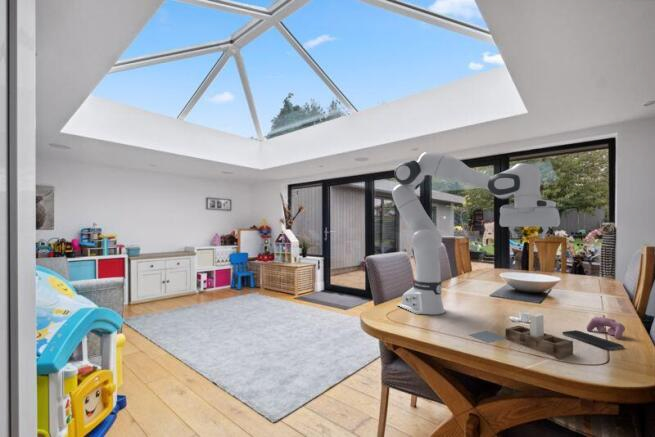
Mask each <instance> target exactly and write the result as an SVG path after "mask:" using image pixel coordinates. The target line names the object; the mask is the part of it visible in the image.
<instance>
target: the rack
mask: <svg viewBox="0 0 655 437" xmlns="http://www.w3.org/2000/svg"><path fill="white" fill-rule="evenodd" d="M505 337H506V338H505V340H508V341H510V342H513V343H515V344H519V345H521V346H524V347H527V348H529V349H533V350H535V351H538V352H541V353H543V354H547V355H549V356H552V357H553V358H554V359H557V360H561V359H564V358H567V357H570V356H573V355H574V342H573V340H569V339H565V338H563V337H559V336H556V335H552V334H549V333H545V332H544V336H543V337H539V338H536V337H533V336H530V327H525V326H522V325H515V326H511V327H507V328H505Z"/></svg>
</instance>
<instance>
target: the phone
mask: <svg viewBox="0 0 655 437" xmlns="http://www.w3.org/2000/svg"><path fill="white" fill-rule="evenodd" d="M561 334H562V335H563V336H565V337H567V338H571V339H574V340H576V341H579V342H582V343H584V344H588V345H589V346H593V347H595V348H600V349H602V350H605V351H615V349H617V350H621V349H620V348H623V349H624V348H625V347H624V345H623V344H620V343H617V342H614V341H612V340H608V339H605V338H602V337H599V336H596V335H593V334H590V333H588V332H583V331H580V330H577V329H576V330H567V331H562V333H561Z"/></svg>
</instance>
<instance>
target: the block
mask: <svg viewBox="0 0 655 437" xmlns="http://www.w3.org/2000/svg"><path fill="white" fill-rule="evenodd" d="M529 319H530V321H529V324H530V325H529V329H530V336H533V337H536V338H539V337H543V336H544V333H545V332H544V331H545V330H544V314H541V313H533V314H530V315H529Z"/></svg>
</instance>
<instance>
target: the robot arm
mask: <svg viewBox="0 0 655 437" xmlns="http://www.w3.org/2000/svg"><path fill="white" fill-rule="evenodd" d="M393 175H394V179H395V180H396V182H397V183H398V184H396V186H395V187H394V188H393V189H392V191H391V196H392V199H393V203H394V204H395V207H396V210H397V211H398V212H399V214H400V216H401V218H402V220H403V223H404V224H405V225H406V226H407V227H408V228H409V230H410V231H411V232H412V234H413V235H412V237H411V244H412V247H413V254H414V255H413V256H414V261H415V279H414V280H412V281H411V284H412V287H411V288H409V289H408V290H407V291H405V292H404V293H403V294H402V297H401V301H400V302H398V303H397V304H396V306H397V305H398V306H400V307H402V308H405V309H407V310H406V311H408V310H409V311H408V312H410V311H411V313H413V314H415V313H416V315H441V314H444V313H445V308H444V303H443V298H442V290H443V289H442V287H443V286H442V281H441V262H440V258H439V248H440V247H441V244H442V242H443V238H442V237H443V236H442V234H441V232H440V231H439V229H438V227H437V226H436V225H435V223H434V222H433V221H432V219H431V218H430V216H429V215H428V214H427V212H426V210H425V209H424V207H423V205H422V203H421V201H420V199H419V197H418V196H417V194H416V192H415V191H416V190H417V189H419V188H420V186H421V185H423V184H424V182H425V180H426V178H427V176H431V177H435V178H437V179H440V180H443V181H444V180H445V181H450V182H459V183H465V184H469V185H472V186H475V187H478V188H481V189H483V190H485V191H488V192H490V194H492V195H493V196H494V197H495V198H497V199H500V200H507V199H511V198H512V197H513V198H514V199H513V200H514V204H503V205H502V206H501V207H500V208H499V213H500V215H499V226H500V227H501V228H502V227H503V228H505V227H507V228H508V230H509V232H510V233H511V238H512V239H518V238H519V233H516V231H515V229H516V228H518V227H519V228H520V227H522V228H524V227H525V228H528V227H529V228H530V227H533V228H536V227H537V228H538V227H539V228H540V227H541V228H542V230H543V231H542V232H541V233H539V234H538V239H541V240H544V239H546V234H547V232H548V231H549V228H550V227H552V228H553V227H555V228H556V227H557V228H558V227H559V226H560V224H561V218H560V212H559V210H558V209H557V208H556V207H557V202H556V201H553V200H550V199H549V200H548V199H545V198H542V193H541V190H540V188H541V183H542V182H541V180H542V179H541V172H540V169H539V166H538V165H536V164H535V163H532V162H520V163H519V162H518V163H516V164H515V165H514V166H513V167H510V168H508V169H506V170H504V171H501V172H499V173H495V174H494V175H489V174H486V173H482V172H480V171H477V170H475V169H473V168H471V167H469V166H468V165H466V163H464V162H463V161H462V160H460V159H458V158H457V157H454V156H453V155H449V154H445V153H442V152H436V151H424V152H422V154H421V155H419V158H418V159H417V160H415V159H413V160H410V161H404V162H401V163H400V164H398V165H397V166H396V167H395V169H394V172H393ZM400 307H399V308H400ZM402 308H401V309H402ZM405 309H404V310H405Z"/></svg>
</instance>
